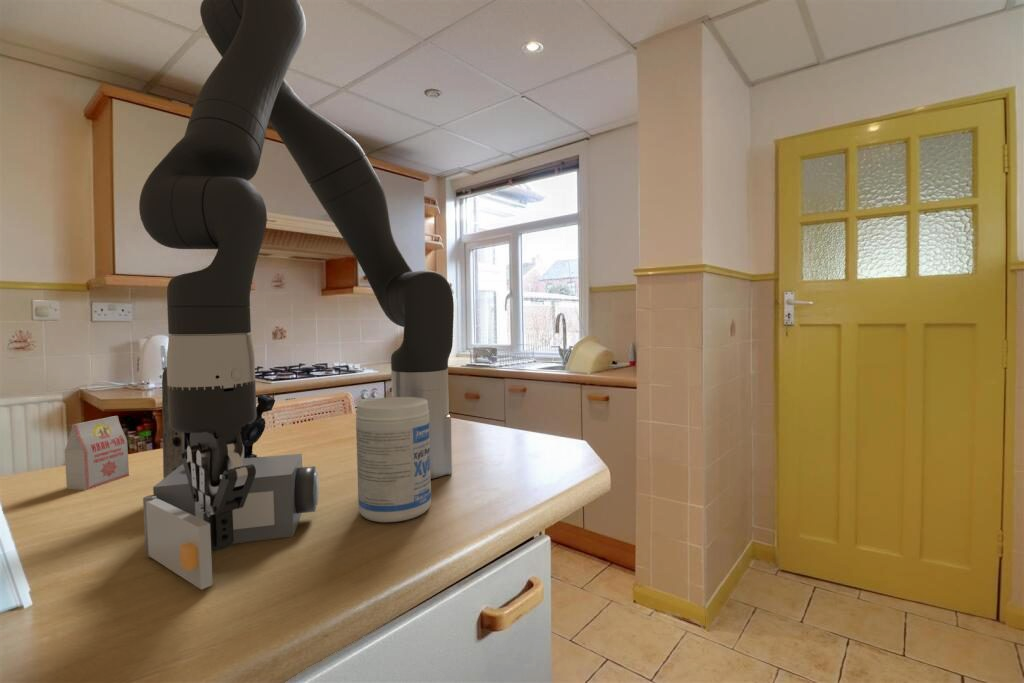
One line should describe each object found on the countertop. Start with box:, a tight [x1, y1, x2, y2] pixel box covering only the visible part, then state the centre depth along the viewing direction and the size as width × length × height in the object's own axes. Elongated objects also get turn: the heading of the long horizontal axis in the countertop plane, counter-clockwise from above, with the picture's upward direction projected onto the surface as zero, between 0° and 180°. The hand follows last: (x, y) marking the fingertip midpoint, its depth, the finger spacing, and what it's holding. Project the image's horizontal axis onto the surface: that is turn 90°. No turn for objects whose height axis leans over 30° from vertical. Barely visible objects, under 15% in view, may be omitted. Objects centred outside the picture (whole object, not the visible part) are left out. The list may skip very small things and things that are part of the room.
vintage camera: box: [161, 366, 276, 479], centre depth 73 cm, size 10×16×20 cm, turn 78°
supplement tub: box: [355, 396, 432, 523], centre depth 65 cm, size 10×10×15 cm
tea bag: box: [64, 415, 130, 491], centre depth 77 cm, size 4×7×10 cm, turn 169°
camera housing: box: [152, 453, 320, 545], centre depth 60 cm, size 16×9×8 cm, turn 106°
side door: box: [142, 494, 214, 590], centre depth 49 cm, size 13×2×6 cm, turn 56°
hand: (219, 547), depth 50 cm, fingers closed
